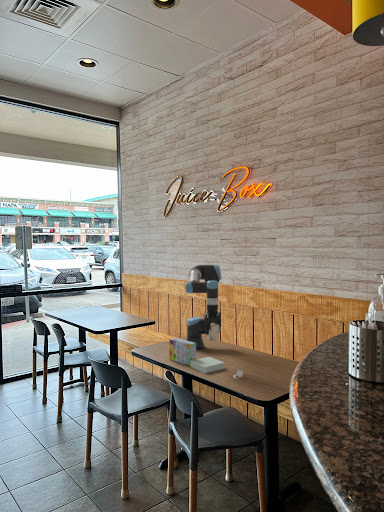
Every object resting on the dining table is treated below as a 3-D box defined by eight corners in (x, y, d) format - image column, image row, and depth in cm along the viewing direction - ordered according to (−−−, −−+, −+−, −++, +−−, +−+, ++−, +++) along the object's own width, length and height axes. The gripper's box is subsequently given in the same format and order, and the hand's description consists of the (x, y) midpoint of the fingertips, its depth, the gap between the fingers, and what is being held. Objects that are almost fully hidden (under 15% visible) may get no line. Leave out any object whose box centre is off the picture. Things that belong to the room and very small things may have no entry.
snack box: (196, 364, 268) (196, 342, 267) (190, 366, 264) (190, 344, 263) (174, 358, 282) (174, 337, 281) (168, 359, 278) (168, 338, 277)
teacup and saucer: (238, 373, 250) (238, 367, 250) (249, 376, 245) (249, 370, 245) (230, 377, 243) (230, 371, 243) (241, 380, 238) (241, 374, 238)
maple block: (206, 339, 262) (206, 324, 262) (213, 337, 266) (213, 323, 265) (212, 341, 258) (212, 325, 257) (218, 339, 261) (218, 324, 261)
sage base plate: (190, 366, 263) (190, 360, 263) (209, 362, 272) (209, 356, 272) (205, 373, 250) (205, 367, 250) (224, 368, 259) (224, 362, 259)
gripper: (205, 306, 252) (205, 342, 253) (226, 303, 264) (226, 337, 265) (197, 304, 258) (197, 339, 259) (219, 301, 269) (219, 335, 270)
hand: (212, 338), depth 262 cm, fingers closed on maple block, 6 cm apart
